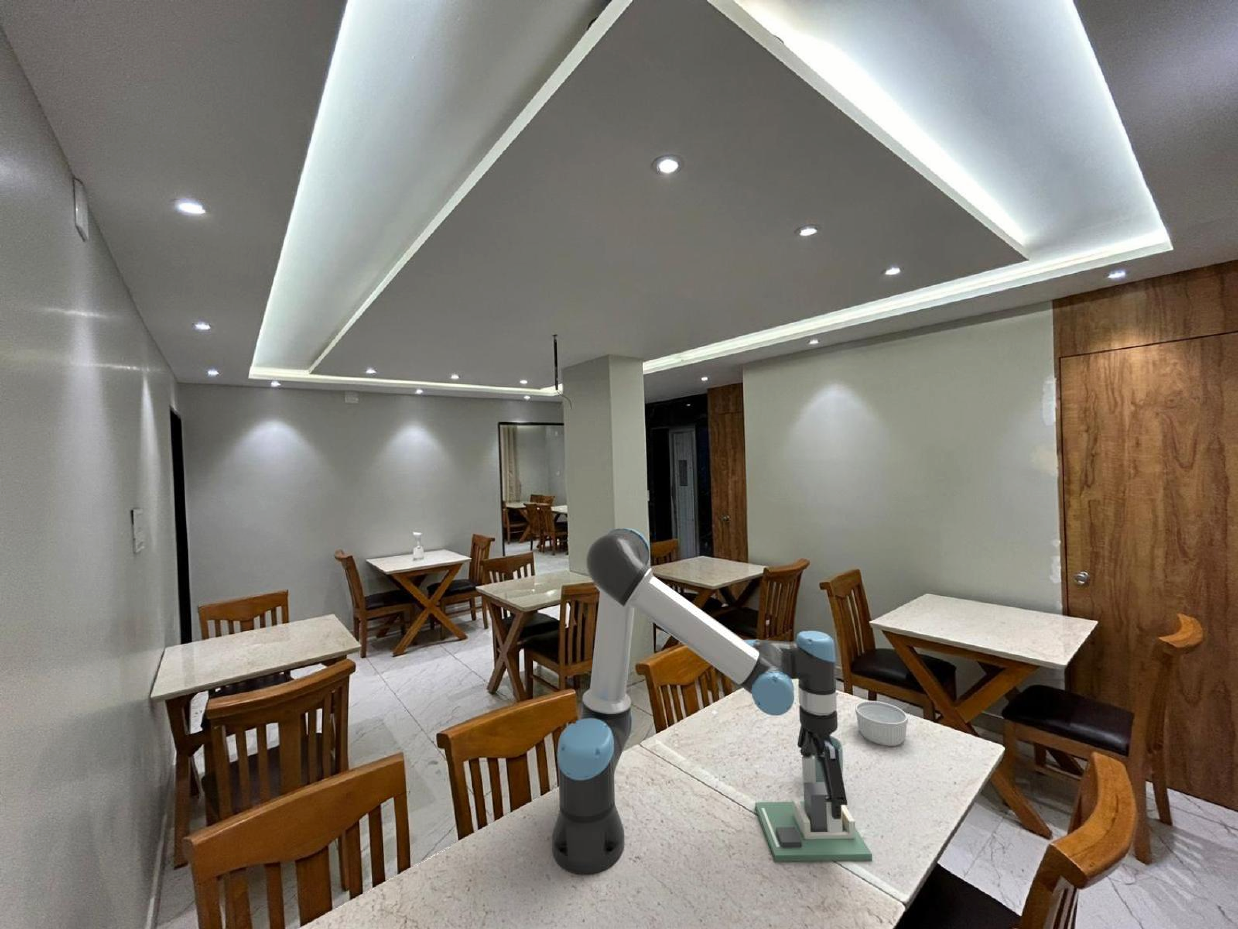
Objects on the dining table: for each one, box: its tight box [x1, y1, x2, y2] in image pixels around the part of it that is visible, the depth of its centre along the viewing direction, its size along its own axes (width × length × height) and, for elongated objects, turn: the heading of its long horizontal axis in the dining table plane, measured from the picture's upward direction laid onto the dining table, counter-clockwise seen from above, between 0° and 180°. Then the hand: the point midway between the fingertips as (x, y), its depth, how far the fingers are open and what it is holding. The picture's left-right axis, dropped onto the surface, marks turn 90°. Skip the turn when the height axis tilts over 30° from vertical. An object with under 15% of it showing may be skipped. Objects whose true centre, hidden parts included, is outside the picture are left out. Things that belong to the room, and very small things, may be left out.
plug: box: [803, 782, 828, 832], centre depth 102 cm, size 7×4×8 cm, turn 90°
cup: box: [811, 735, 844, 782], centre depth 117 cm, size 8×8×10 cm
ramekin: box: [855, 700, 909, 747], centre depth 137 cm, size 13×13×7 cm
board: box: [754, 797, 873, 863], centre depth 102 cm, size 19×15×5 cm
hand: (821, 807), depth 102 cm, fingers open, 13 cm apart
